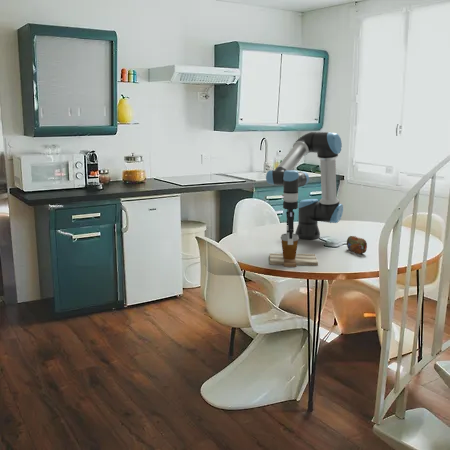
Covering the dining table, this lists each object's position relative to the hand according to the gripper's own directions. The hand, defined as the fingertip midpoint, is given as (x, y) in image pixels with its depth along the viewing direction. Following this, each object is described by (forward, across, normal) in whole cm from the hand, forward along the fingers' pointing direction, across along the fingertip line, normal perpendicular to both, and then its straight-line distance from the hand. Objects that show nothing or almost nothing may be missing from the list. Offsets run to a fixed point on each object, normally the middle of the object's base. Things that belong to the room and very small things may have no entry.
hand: (289, 241), depth 281 cm
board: (+10, 0, +2) cm, 10 cm away
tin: (+11, -19, +38) cm, 44 cm away
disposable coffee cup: (+9, 0, 0) cm, 9 cm away
